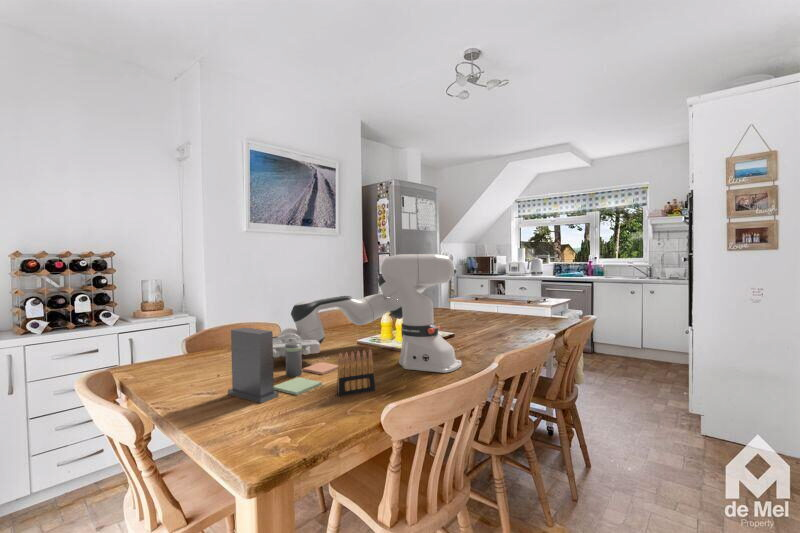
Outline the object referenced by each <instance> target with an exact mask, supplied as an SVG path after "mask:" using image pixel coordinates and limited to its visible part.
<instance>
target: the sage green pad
mask: <svg viewBox="0 0 800 533" xmlns="http://www.w3.org/2000/svg"><path fill="white" fill-rule="evenodd" d="M322 385H323V381H318V380H313V379H308V378H304V377H300V376H298V377H293V378H292V379H289V380H287V381H284V382H281V383H278V384H276V385H274V391H277V390H278V391H277V392H281V391H282V393H285V392H286V394H289V393H290V395H294V396H299V395H301V394H303V393H305V392H308V391H311V390H313V389H316V388H318V387H320V386H322Z"/></svg>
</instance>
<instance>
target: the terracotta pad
mask: <svg viewBox="0 0 800 533" xmlns="http://www.w3.org/2000/svg"><path fill="white" fill-rule="evenodd" d="M336 369H337V370H338V364H334V363H328V362H323V361H320V362H318V363H315V364H312V365H310V366H306V367H303V368H302V372H306V371H307V373H311V372H312V374H317V375H321V374H322V376H324V375H326V374H328V372H329V373H331V371H332V372H334V371H337V370H336ZM323 374H324V375H323Z"/></svg>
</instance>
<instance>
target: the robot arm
mask: <svg viewBox="0 0 800 533" xmlns="http://www.w3.org/2000/svg"><path fill="white" fill-rule="evenodd" d="M454 269H455V267H454V263H453V261H452V260H451V259H450V257H449V256H447V255H443V254H439V253H438V254H437V253H418V254H417V253H405V254H404V253H402V254H394V255H389V256H387V257H385V259H384V260H383V262H382V264H381V266H380V273H381V275H380V276H379V277H378V279H377V282H378V286H379V288H380V290H381V293H376V294H371V295H367V296H364V297H361V298H356V299H355V298H353V296H351V295H342V296H334V297H327V298H322V299H317V300H307V301H306V300H305V301H301V302H300V301H299V302H297V303H296V304H294V305H293V307H292V309H291V313H290V316H291V318H292V321H293V322H294V324H295V327H296V328H294V327H286V328H284V329H282V330H281V331H280V333H279V334H278V335H276V336H273V358H276V359H277V358H280V357H283V358H286V352H285V345H286V344H289V343H301V346H302V350H301V355H303V356H308V355H310V354H318V353H320V351H321V344H322V343H323V342H324V340H325V337H326V335H325V331H324V326H323V325H322V321H321V318H320V316H319V311H320V310H327V309H333V308H338V310H340V311H341V312H342V313H343V315H344V316H345V317H346V318H347V319H348V321H350V322H351V323H352V324H354V325H356V326H363V325H368V324H370V323H371V322H374V321H376V320H378V319H380V318H381V317H383V316H384V315H386V314H387V313H390V314H388V316H389V317H393V318H394V319H397V320H398V319H399V320H402V322H401V328H400V329H401V331H400V332H401V338H402V340H401V348H400V356H399V360H398V364H399V365H400V366H401V367H402V369H404V370H409V371H410V370H412V371H413V370H414V371H421V372H432V373H433V372H435V373H443V374H445V373H450V372H454V371H457V370H458V369H460V367H462V365H463V364H462V363H463V361H462V360H461V359H456V354H455V349H454V346H452V345H451V344H450V343H449V342H448V341H447V340H446V339H444V338H443V336H441V335H440V334H439V330H441V328H440V327H441V325H438V326H437V325H436V324H435V323H434V303H433V300H432V299H431V298H430V297H429V296H428V295H427V296H426V295H424V294H423V293H424V291H425V290H427V289H428V288H430V287H434V286H437V285H440V284H446V283H449V282H450V281H451V280H452V278H453V276H454V272H455V270H454ZM387 297H390V298H387ZM397 299H398V300H397Z"/></svg>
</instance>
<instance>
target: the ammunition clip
mask: <svg viewBox="0 0 800 533" xmlns="http://www.w3.org/2000/svg"><path fill="white" fill-rule="evenodd" d="M350 352H351V353H350V357H349V355H348V352H347V351H346V352H345V354H344V358H343V355H342V353H341V352H339V354H338V359H337V360H338V361H337V362H338V363H337V365H338V369H337V380H336V381H337V382H336V383H337V384H336V395H337V396H338V397H345V396H350V395H356V394H357V395H358V394H362V393H368V392H369V393H370V392H375V391H376V389H375V387H376V386H375V373H374V361H373V359H374V358H373V352H372V349H371V348H369V349H368V354H367V352H366V349H363V350H362V354H361V353H360V350H357V352H356V355H355V353H354V351H353V350H352V351H350ZM361 355H362V356H361ZM355 356H356V358H355ZM361 357H362V358H361ZM349 358H350V359H349ZM343 359H344V362H343ZM361 360H362V361H361ZM349 361H350V362H349Z"/></svg>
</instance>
